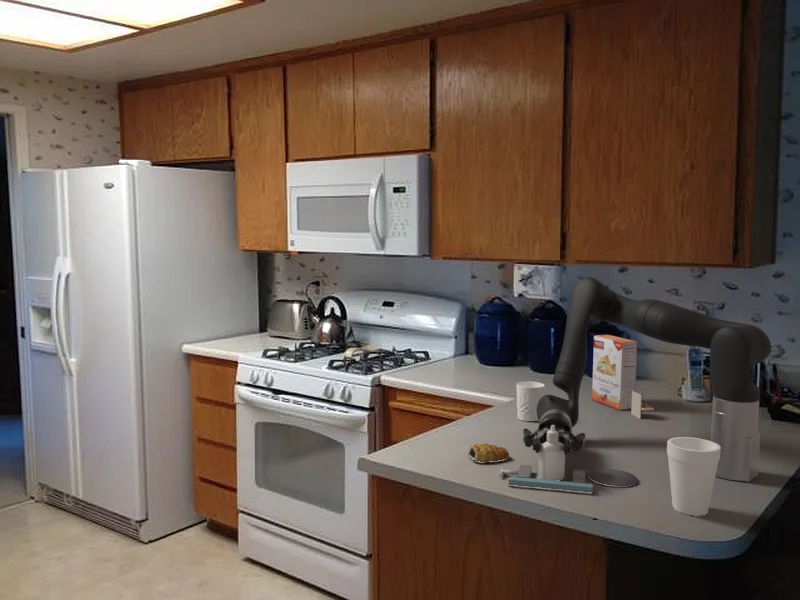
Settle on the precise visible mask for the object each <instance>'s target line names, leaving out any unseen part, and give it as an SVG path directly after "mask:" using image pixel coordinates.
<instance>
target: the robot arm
mask: <svg viewBox="0 0 800 600" xmlns="http://www.w3.org/2000/svg"><path fill="white" fill-rule="evenodd" d="M568 302H569V303H568V308H567V309H568V310H567V317H566V323H565V324H566V325H565V332H564V337H563V343H562V347H561V352H560V355H559V359H558V361H557V364H556V367H555V371H554V374H553V379H552V383H553V385H554V387H556V388H558V389H560V390H562V391H563V392H564V393H565V394H566V395H567V396H568V397H567V398H568V399H565V398H562V397H558V396H556V395H553V394H544V396H542V397H541V398H540V400H539V402H538V404H537V417H538V419H539V421H538V422H539V423H538V428H537V429H536V430H535V431H534V432H532V430H530V429H529V428H523V429H522V431H523V432H522V441H523V443H524V445H525V447H527V448H532V450H533V451H535V453H537V454H539V449H540V446H541V445H542V444H543V443H545V442H547V431H549V430H550V429H551V425H555V430H556V431H558V432H559V436H558V442H560V443H562V444H563V445H564V446H565V450H564V455H565V456H568V454H572V450H574V451H575V452H581V450H583V448H584V447H585V445H586V433H584V432H580V433H577V434H576V435H574V433H573V429H572V428H573V427H575V426H576V424H577V423H578V421H579V414H580V412H579V411H580V407H579V404H580V403H579V399H580V398H579V397H580V390H581V389H580V388H581V385H582V382H583V378H584V374H585V371H586V368H587V362H588V341H587V340H588V339H587V335H588V334H587V333H588V332H587V330H588V324H589V319H592V320H595V321H599V322H605V323H611V324H615V325H619V326H622V327H625V328H628V329H629V330H631V331H634V332H636V333H639V334H642V335H644V336H646V337H649V338H652V339H655V340H656V341H657V340H659V341H661V342H665V343H668V344H672V345H673V344H674V345H679V346H680V345H681V346H686V347H687V346H689V347H696V348H697V347H698V348H705V349H708V350H709V380H710V383H711V387H712V390H713V391H712V392H713V393H712V407H711V408H712V411H711V425H710V426H711V427H710V441H712V442H714V443H717V444H718V445H719V446H720V447H721V451H720V460H719V462H718V466H717V471H716V476H715V477H718V478H721V479H725V480H730V481H742V482H747V483H749V482H750V481H752V480H754V479H755V478H757V477H758V476H759V468H760V467H759V466H760V449H761V447H760V446H761V433H760V432H758V427H759V425H758V424H759V412H760V411H759V410H760V409H759V408H760V397H761V396H760V395H761V391H760V388H759V386H758V385H756V384H755V383H754V382H752V379H751V378H752V375H751V374H752V373H751V370H752V369H751V367H752V366H755V365H758V364H761V363H762V362H764V361H765V360H766V359H767V358H769V355H770V354H771V351H772V344H771V341H770V338H769V337H768V334H766V332H764V330H762V329H761V328H759V327H758V326H756V325H752V324H748V323H741V322H735V321H732V320H731V321H729V320H725V319H720V318H715V317H712V316H708V315H706V314H704V313H700V312H698V311H695V310H693V309H690V308H689V309H688V308H685V307H682V306H679V305H676V304H673V303H671V302H666V301H663V300H658V299H654V298H646V299H632V298H629V297H626V296H624V295H621V294H619V293H617V292H615V291H613V290H612V289H611V288H608V286H606V285H605V284H603V283H602V282H601V281H599V280H598V279H596V278H595V277H592V276H587V277H582V278H581V279H579V280H578V281H577V282H576V283H575V284H574V286H573V287H572V289H571V293H570V297H569V301H568Z"/></svg>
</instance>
